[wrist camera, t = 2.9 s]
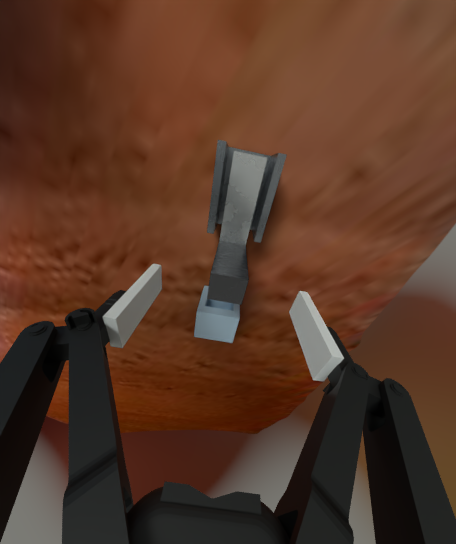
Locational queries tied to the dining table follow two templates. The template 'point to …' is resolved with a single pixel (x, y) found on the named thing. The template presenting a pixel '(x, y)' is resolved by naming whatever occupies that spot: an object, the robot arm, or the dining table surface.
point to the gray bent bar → (236, 229)
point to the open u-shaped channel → (265, 192)
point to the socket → (216, 319)
